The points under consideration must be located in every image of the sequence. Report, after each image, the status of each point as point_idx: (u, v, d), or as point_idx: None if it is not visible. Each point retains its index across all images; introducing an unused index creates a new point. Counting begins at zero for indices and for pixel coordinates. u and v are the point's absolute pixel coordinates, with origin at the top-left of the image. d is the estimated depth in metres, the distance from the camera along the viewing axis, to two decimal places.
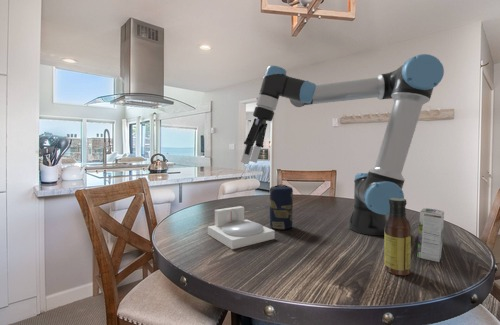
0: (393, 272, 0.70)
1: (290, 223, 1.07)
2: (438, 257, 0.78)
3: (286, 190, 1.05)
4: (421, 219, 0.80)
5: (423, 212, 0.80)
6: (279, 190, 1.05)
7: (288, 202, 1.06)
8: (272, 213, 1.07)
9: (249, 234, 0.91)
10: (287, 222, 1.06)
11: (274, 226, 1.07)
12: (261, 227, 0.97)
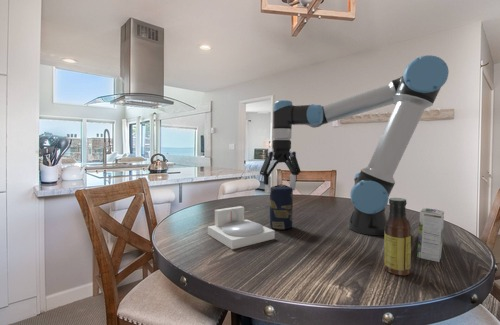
0: (393, 272, 0.70)
1: (290, 223, 1.07)
2: (438, 257, 0.78)
3: (286, 190, 1.05)
4: (421, 219, 0.80)
5: (423, 212, 0.80)
6: (279, 190, 1.05)
7: (288, 202, 1.06)
8: (272, 213, 1.07)
9: (249, 234, 0.91)
10: (287, 222, 1.06)
11: (274, 226, 1.07)
12: (261, 227, 0.97)
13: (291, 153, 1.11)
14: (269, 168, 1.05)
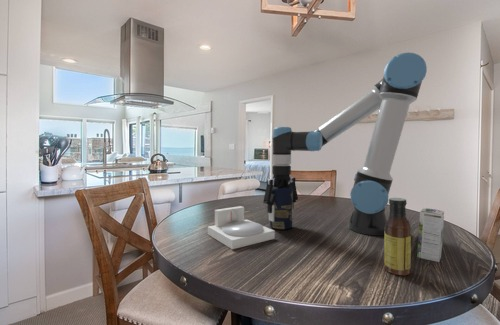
0: (393, 272, 0.70)
1: (290, 223, 1.07)
2: (438, 257, 0.78)
3: (286, 190, 1.05)
4: (421, 219, 0.80)
5: (423, 212, 0.80)
6: (279, 190, 1.05)
7: (288, 202, 1.06)
8: None
9: (249, 234, 0.91)
10: (286, 222, 1.06)
11: (274, 226, 1.07)
12: (261, 227, 0.97)
13: (291, 179, 1.12)
14: (271, 196, 1.06)
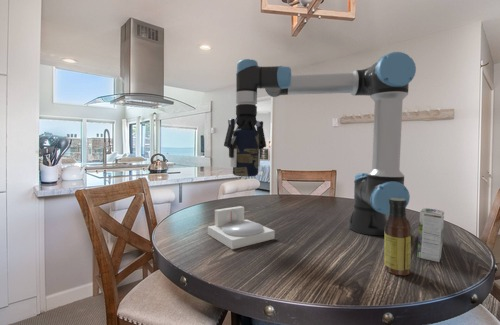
0: (393, 272, 0.70)
1: (255, 170, 0.94)
2: (438, 257, 0.78)
3: (250, 131, 0.93)
4: (421, 219, 0.80)
5: (423, 212, 0.80)
6: (242, 131, 0.92)
7: (251, 144, 0.93)
8: None
9: (249, 234, 0.91)
10: (250, 168, 0.93)
11: (236, 173, 0.94)
12: (261, 227, 0.97)
13: (258, 122, 0.99)
14: (234, 139, 0.94)
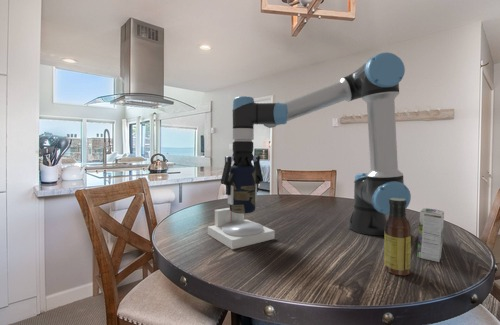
0: (393, 272, 0.70)
1: (252, 206, 0.94)
2: (438, 257, 0.78)
3: (246, 168, 0.92)
4: (421, 219, 0.80)
5: (423, 212, 0.80)
6: (238, 168, 0.92)
7: (248, 182, 0.93)
8: None
9: (249, 234, 0.91)
10: (247, 205, 0.93)
11: (233, 210, 0.94)
12: (261, 227, 0.97)
13: (255, 157, 0.99)
14: (230, 176, 0.93)
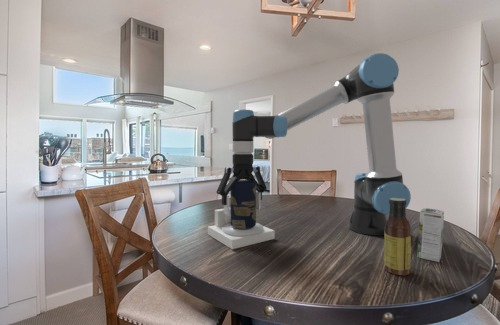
0: (393, 272, 0.70)
1: (252, 222, 0.94)
2: (438, 257, 0.78)
3: (247, 184, 0.93)
4: (421, 219, 0.80)
5: (423, 212, 0.80)
6: (239, 184, 0.92)
7: (249, 197, 0.93)
8: (232, 210, 0.95)
9: (249, 234, 0.91)
10: (248, 221, 0.93)
11: (234, 225, 0.94)
12: (261, 227, 0.97)
13: (255, 168, 0.99)
14: (227, 186, 0.93)
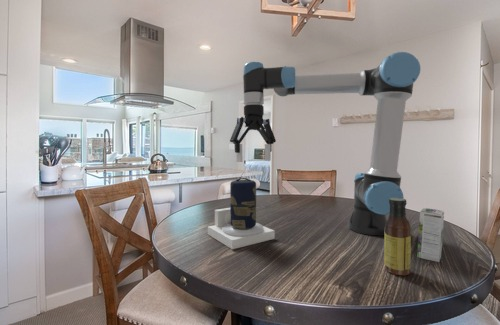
0: (393, 272, 0.70)
1: (252, 222, 0.94)
2: (438, 257, 0.78)
3: (247, 184, 0.93)
4: (421, 219, 0.80)
5: (423, 212, 0.80)
6: (239, 184, 0.93)
7: (249, 197, 0.93)
8: (232, 210, 0.95)
9: (249, 234, 0.91)
10: (248, 221, 0.93)
11: (234, 225, 0.94)
12: (261, 227, 0.97)
13: (264, 120, 1.04)
14: (240, 135, 0.98)
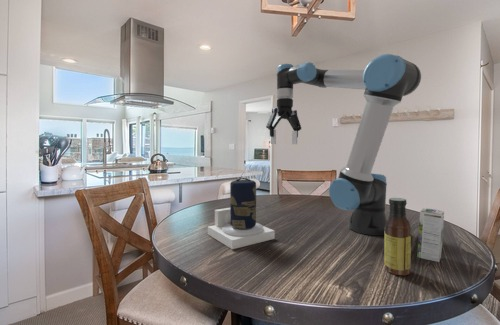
0: (393, 272, 0.70)
1: (252, 222, 0.94)
2: (438, 257, 0.78)
3: (247, 184, 0.93)
4: (421, 219, 0.80)
5: (423, 212, 0.80)
6: (239, 184, 0.92)
7: (249, 197, 0.93)
8: (232, 210, 0.95)
9: (249, 234, 0.91)
10: (248, 221, 0.93)
11: (234, 225, 0.94)
12: (261, 227, 0.97)
13: (293, 111, 1.28)
14: (274, 122, 1.22)
